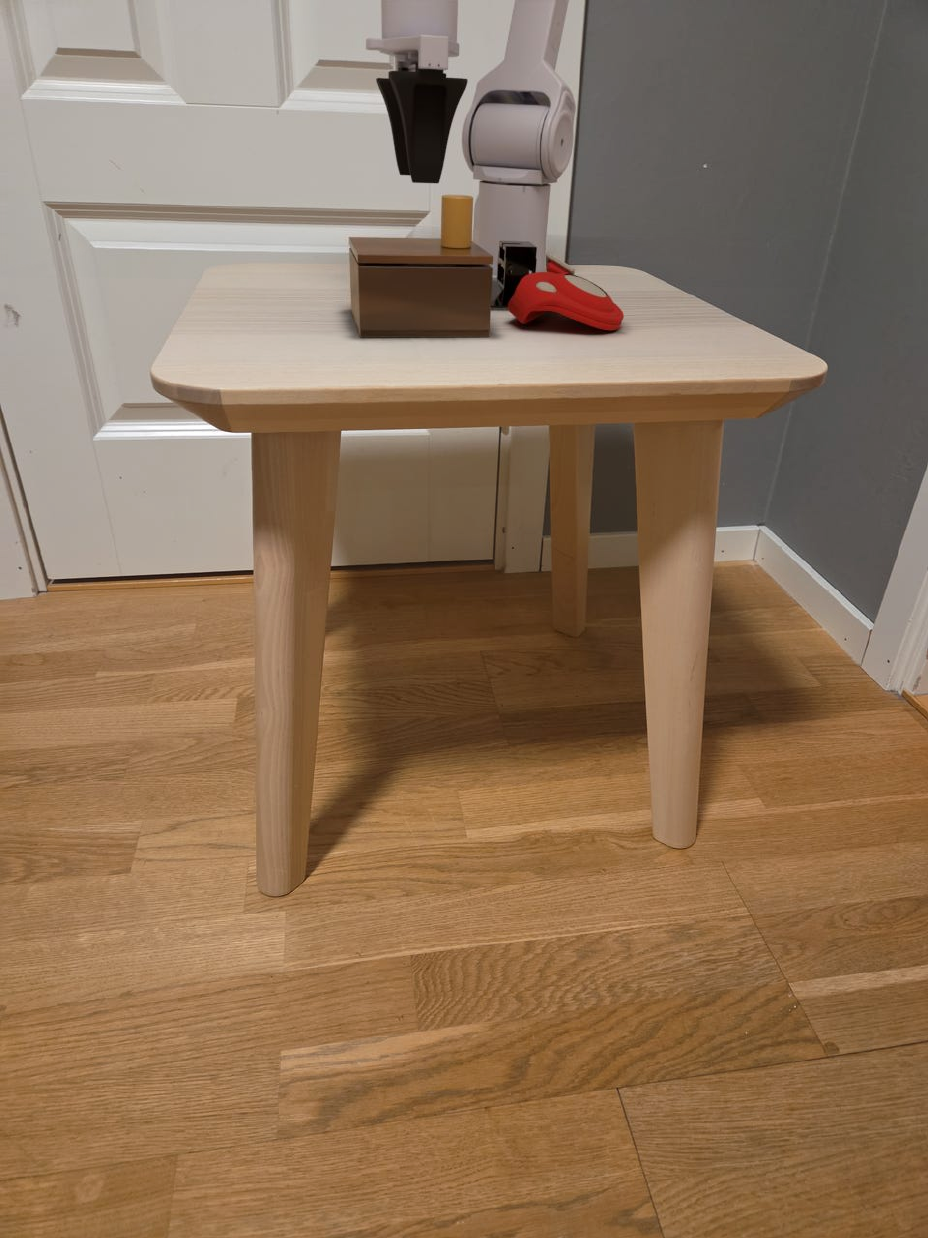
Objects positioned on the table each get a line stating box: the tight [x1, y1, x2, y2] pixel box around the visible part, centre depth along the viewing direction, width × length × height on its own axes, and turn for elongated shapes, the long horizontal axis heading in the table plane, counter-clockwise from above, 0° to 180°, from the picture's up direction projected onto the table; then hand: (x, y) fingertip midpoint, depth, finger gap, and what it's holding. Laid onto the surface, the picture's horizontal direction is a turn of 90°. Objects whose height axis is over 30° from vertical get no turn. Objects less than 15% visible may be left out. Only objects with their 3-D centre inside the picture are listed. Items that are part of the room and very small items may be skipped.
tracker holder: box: [507, 252, 625, 331], centre depth 68 cm, size 12×4×10 cm
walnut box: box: [348, 247, 493, 338], centre depth 65 cm, size 9×10×5 cm
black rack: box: [491, 241, 537, 310], centre depth 77 cm, size 12×7×5 cm, turn 7°
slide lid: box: [348, 194, 493, 265], centre depth 62 cm, size 9×10×4 cm
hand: (418, 178), depth 67 cm, fingers open, 7 cm apart
